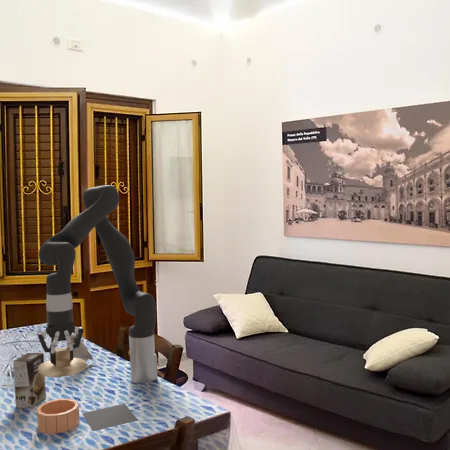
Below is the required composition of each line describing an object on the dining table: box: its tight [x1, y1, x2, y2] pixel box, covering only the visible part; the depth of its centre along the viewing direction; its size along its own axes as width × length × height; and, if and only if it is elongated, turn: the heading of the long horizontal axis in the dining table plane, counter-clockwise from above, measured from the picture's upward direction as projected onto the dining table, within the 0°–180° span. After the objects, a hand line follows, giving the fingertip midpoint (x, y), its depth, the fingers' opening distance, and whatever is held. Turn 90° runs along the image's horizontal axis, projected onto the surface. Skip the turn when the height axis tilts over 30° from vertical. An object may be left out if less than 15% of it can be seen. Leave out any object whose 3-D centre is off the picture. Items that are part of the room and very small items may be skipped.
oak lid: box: [38, 345, 87, 378], centre depth 162 cm, size 14×14×6 cm
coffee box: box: [12, 352, 47, 409], centre depth 181 cm, size 9×6×16 cm
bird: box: [70, 333, 94, 362], centre depth 214 cm, size 5×14×15 cm, turn 148°
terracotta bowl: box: [36, 398, 81, 434], centre depth 164 cm, size 12×12×6 cm
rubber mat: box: [81, 403, 138, 432], centre depth 168 cm, size 14×14×1 cm
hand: (61, 362), depth 163 cm, fingers closed on oak lid, 4 cm apart
